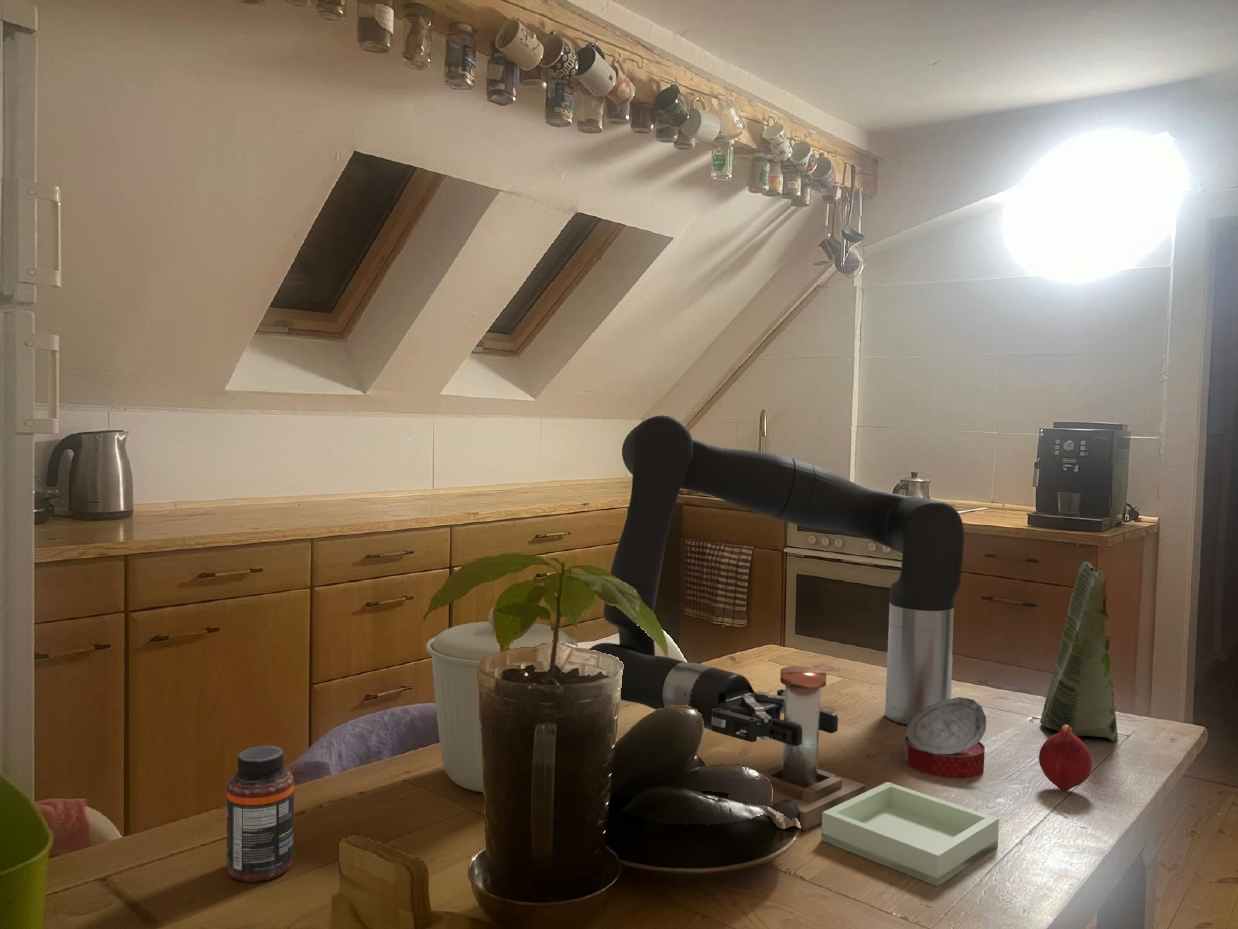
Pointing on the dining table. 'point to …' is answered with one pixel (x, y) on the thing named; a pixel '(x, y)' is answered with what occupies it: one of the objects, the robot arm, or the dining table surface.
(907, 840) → the tray
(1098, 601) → the pouch
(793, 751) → the pin
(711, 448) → the robot arm
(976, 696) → the dining table surface
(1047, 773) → the onion
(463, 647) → the canister
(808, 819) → the brown socket base
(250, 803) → the supplement bottle
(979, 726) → the canned food
